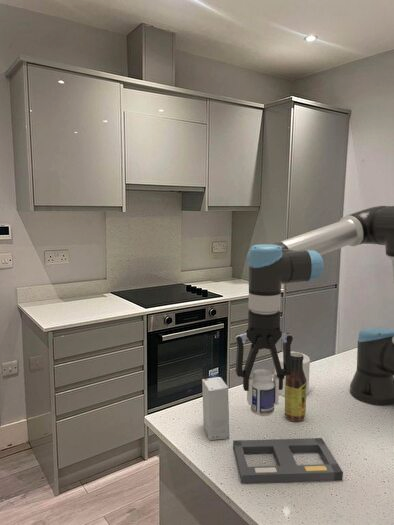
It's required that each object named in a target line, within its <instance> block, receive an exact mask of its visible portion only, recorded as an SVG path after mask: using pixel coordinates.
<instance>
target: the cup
mask: <svg viewBox="0 0 394 525" xmlns="http://www.w3.org/2000/svg"><path fill="white" fill-rule="evenodd" d="M294 352H295V351H291V353H294ZM296 352H297V353H299V352H298V351H296ZM300 353H301V354H303V371H304V374H305V377H306V380H307V382H306V396H307V395H308V394H309V388H310V370H311V369H310V367H311V359H310V357H309V356H308V355H306V354H305V353H303V352H300ZM277 354H278V358H279V361H280V365H281V368H282V369H284V367H283V351H280V352H279V353H278V352H277ZM274 374H276V375H277V373H276V370H275V369H274ZM285 383H286V376H284V379H283V388H282V390H279V395H281V396H283V397H285Z"/></svg>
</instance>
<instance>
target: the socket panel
mask: <svg viewBox="0 0 394 525" xmlns="http://www.w3.org/2000/svg"><path fill="white" fill-rule="evenodd" d="M232 449H233V454H234V458H235V463H236V467H237V472H238V476H239V481H240V484H241V485H246V484H247V485H250V484H251V485H253V484H254V485H255V484H278V483H279V484H280V483H281V484H282V483H310V482H316V483H317V482H337V481H339V482H342V481H343V476H344V475H343V474H344V472H343V470H342V468H341V466H340V465H339V464H338V462H337V460H336V458H335V457H334V455H333V454H332V452H331V450H330V449H329V447H328V446H327V444H326V442H325V441H324V439H323V438H322V437H316V438H315V437H313V438H310V437H309V438H305V437H304V438H279V439H277V438H276V439H274V438H273V439H269V438H268V439H237V440H232ZM308 453H309V454H313V453H318V455H319V457H320V458H321V461H322V462H323V463H321V464H299V465H298V464H297V462H296V460H295V458H294V456H293V454H308ZM248 455H249V456H251V455H273V458H274V461H275V464H276V465H267V466H266V465H264V466H263V465H262V466H261V465H260V466H248V464H247V459H246V456H248Z"/></svg>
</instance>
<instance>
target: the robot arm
mask: <svg viewBox="0 0 394 525" xmlns="http://www.w3.org/2000/svg"><path fill="white" fill-rule="evenodd" d="M365 244H366V245H369V244H371V245H379V246H385V256H387V257H388V258H389V259H390V260H391V263H392V278H393V279H392V280H393V283H394V205H377V206H373V207H368V208H365V209H362V210H358V211H356V212H353V213H350V214H346V215H344V216H343V217H341V218H340V220H339V221H337V222H334V223H331V224H329V225H324V226H322V227H320V228H316V229H313V230H311V231H307V232H305V233H302V234H299V235H296V236H295V235H294V236H293V237H291V238H286V239H284V240H282V241H278V242H275V243H271V244H270V243H269V244H255V245H254V244H253V245H252V246H250V249H249V250H248V252H247V255H246V262H247V266H248V302H247V303H248V304H247V305H248V306H247V307H248V309H249V310H248V311H247V312H248V313H247V315H248V316H247V330H246V331H245V333H241V334H239V333H237V334H235V337H234V338H235V341H236V356H235V357H236V358H235V373H236V376H237V377H239V378H240V377H241V378H242V388H243V391H245V392H246V401H247V404H248V406H251V405H252V380H253V378H252V376H251V374H252V370H253V367H254V364H255V361H256V359H257V355H258V354H259V351H260V350H262V349H263V350H264V349H265V350H269V353H270V356H271V359H272V363H273V366H274V371H275V370H276V373H277V375H276V374H275V373H273V379H272V381H273V382H274V384H275V394H274V405H279V395H280V394H279V390H282V388H283V379H284V376H286V375H288V376H289V375H291V352H292V351H291V349H292V348H291V345H292V342H293V339H294V338H293V336H292V335H291V333H289V332H282V331H281V312H280V310H281V303H282V302H281V299H282V298H281V296H282V284H293V283H302V282H306V283H308V282H310V281H314V280H315V281H316V280H318V279H320V277H321V276H322V275H323V273H324V269H325V268H324V267H325V266H324V265H325V264H324V263H325V262H324V259H323V255H325V254H328V253H330V252H333V251H336V250H339V249H342V248H345V247H347V246H349V247H356V246H359V245H365ZM247 339H248V341H249V342H250V343H251V344H250V349H249V352H248V355H247V359H246V362H245V364H244V363H243V362H244V352H245V351H244V350H245V348H244V347H245V346H244V344H245V343H246V340H247ZM280 339H281V342H282V352H283V367H284V369H282V368H281V365H280V361H279V358H278V350H277V347H276V345H277V343H278V341H279V340H280ZM243 364H244V367H243ZM349 393H350V395H352V397H354V398H355V399H357V400H359V401H361V402H364V403H367V404H371V405H376V406H377V405H378V406H391V405H394V329H393V328H389V327H388V328H387V327H367V328H364V329H361V330H360V331H359V333H358V339H357V353H356V370H355V373H354V375H353V378H352V380H351V382H350V385H349Z"/></svg>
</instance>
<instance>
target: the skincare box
mask: <svg viewBox="0 0 394 525" xmlns="http://www.w3.org/2000/svg"><path fill="white" fill-rule="evenodd" d="M201 383H202V385H201V386H202V387H201V388H202V410H203V411H202V417H203V420H202V421H203V422H202V423H203V428H204V430H205V433H206V434H207V436H208V438H209V440H210V441H215V440H216V441H217V440H226V439H230V411H229V409H230V408H229V407H230V406H229V404H230V402H229V386H228V385H227V384H226V382H225V381H224V380H223V378H222V377H220V376H217V377H215V376H214V377H209V378H202V380H201Z"/></svg>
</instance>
